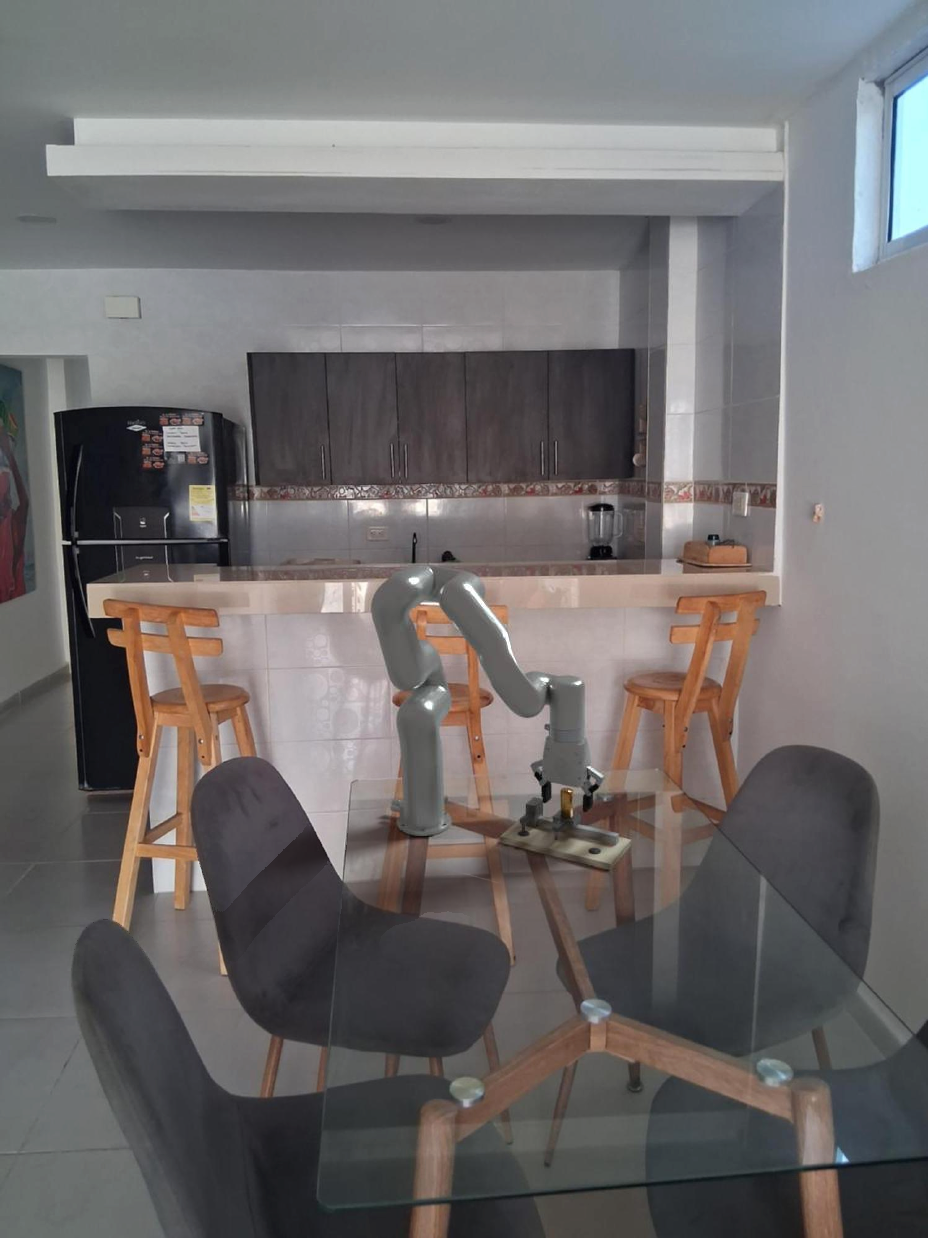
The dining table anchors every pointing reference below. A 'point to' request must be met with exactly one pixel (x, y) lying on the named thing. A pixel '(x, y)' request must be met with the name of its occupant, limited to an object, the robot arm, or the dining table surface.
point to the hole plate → (565, 839)
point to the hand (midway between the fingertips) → (566, 805)
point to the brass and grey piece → (565, 813)
